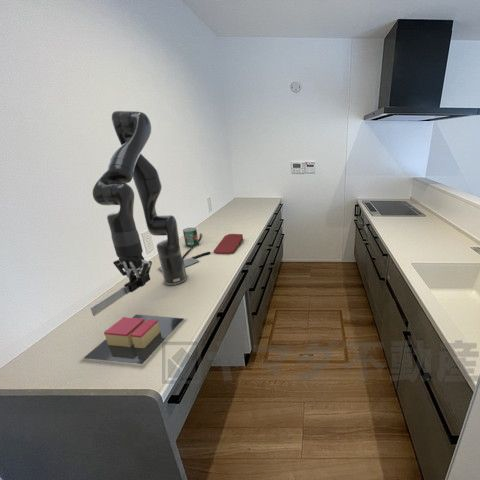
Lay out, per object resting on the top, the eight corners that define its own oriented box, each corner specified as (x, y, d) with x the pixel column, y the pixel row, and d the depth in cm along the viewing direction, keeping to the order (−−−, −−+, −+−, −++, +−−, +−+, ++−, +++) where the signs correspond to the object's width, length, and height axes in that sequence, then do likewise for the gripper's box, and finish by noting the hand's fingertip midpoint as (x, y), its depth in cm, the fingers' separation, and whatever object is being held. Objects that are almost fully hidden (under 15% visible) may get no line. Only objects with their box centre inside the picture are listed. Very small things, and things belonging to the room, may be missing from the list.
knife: (144, 279, 101) (143, 272, 100) (150, 279, 100) (148, 272, 99) (90, 315, 80) (87, 307, 79) (97, 316, 80) (94, 308, 78)
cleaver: (217, 256, 156) (208, 251, 162) (217, 255, 156) (208, 251, 162) (165, 274, 135) (157, 268, 140) (165, 273, 134) (157, 267, 140)
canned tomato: (184, 245, 172) (181, 229, 168) (196, 242, 177) (194, 226, 173) (187, 248, 166) (184, 232, 162) (200, 245, 171) (198, 229, 167)
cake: (126, 328, 95) (123, 317, 93) (147, 330, 94) (144, 318, 92) (108, 345, 88) (103, 332, 86) (130, 347, 87) (126, 334, 85)
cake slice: (151, 331, 94) (148, 319, 92) (160, 331, 94) (157, 319, 92) (134, 347, 87) (130, 334, 85) (144, 348, 86) (140, 335, 84)
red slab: (233, 259, 161) (245, 239, 183) (232, 252, 159) (244, 232, 180) (214, 258, 161) (228, 238, 183) (212, 251, 159) (227, 232, 181)
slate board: (136, 316, 103) (135, 314, 103) (184, 320, 101) (184, 318, 101) (84, 360, 83) (83, 358, 82) (143, 366, 81) (142, 364, 80)
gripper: (153, 239, 93) (163, 281, 99) (117, 236, 94) (129, 279, 101) (137, 247, 86) (148, 292, 92) (98, 244, 87) (113, 289, 94)
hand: (138, 285), depth 96 cm, fingers closed on knife, 2 cm apart
